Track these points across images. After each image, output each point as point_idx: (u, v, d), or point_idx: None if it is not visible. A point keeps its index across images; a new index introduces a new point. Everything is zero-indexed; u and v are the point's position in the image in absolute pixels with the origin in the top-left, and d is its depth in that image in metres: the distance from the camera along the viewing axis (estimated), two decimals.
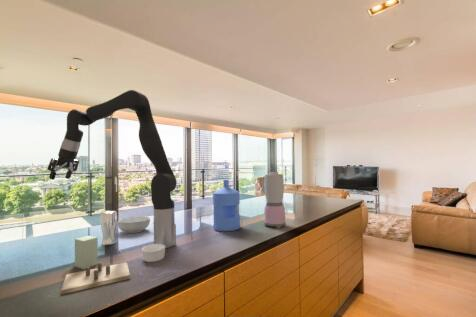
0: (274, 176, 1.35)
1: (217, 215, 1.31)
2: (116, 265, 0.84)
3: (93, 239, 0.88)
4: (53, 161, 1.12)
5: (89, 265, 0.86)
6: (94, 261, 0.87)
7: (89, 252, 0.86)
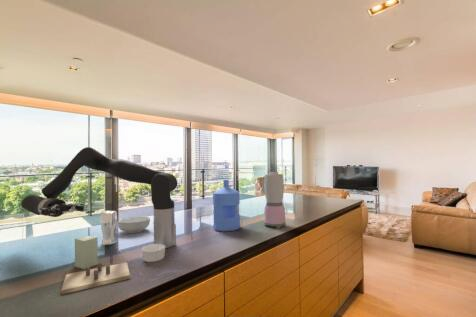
0: (274, 176, 1.35)
1: (217, 215, 1.31)
2: (116, 265, 0.84)
3: (93, 239, 0.88)
4: (39, 209, 0.93)
5: (89, 265, 0.86)
6: (94, 261, 0.87)
7: (89, 252, 0.86)
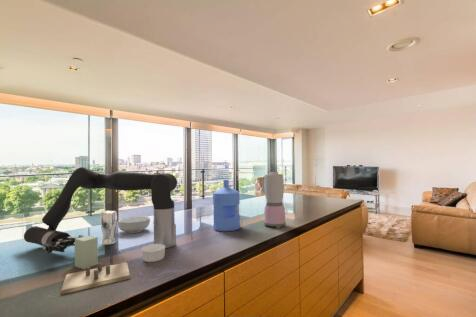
0: (274, 176, 1.35)
1: (217, 215, 1.31)
2: (116, 265, 0.84)
3: (93, 239, 0.88)
4: (43, 246, 0.91)
5: (89, 265, 0.86)
6: (94, 261, 0.87)
7: (89, 252, 0.86)
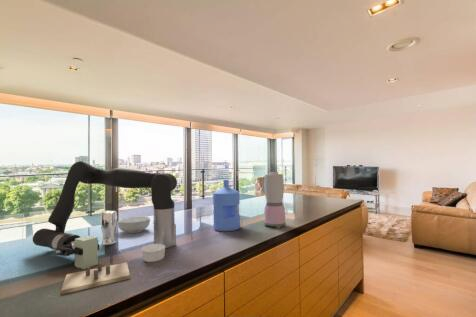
0: (274, 176, 1.35)
1: (217, 215, 1.31)
2: (116, 265, 0.84)
3: (93, 239, 0.88)
4: (57, 250, 0.86)
5: (89, 265, 0.86)
6: (94, 261, 0.87)
7: (89, 252, 0.86)
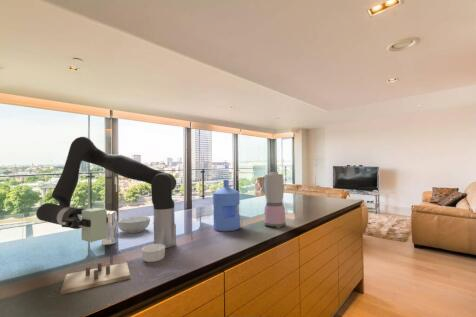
0: (274, 176, 1.35)
1: (217, 215, 1.31)
2: (116, 265, 0.84)
3: (101, 210, 0.80)
4: (63, 221, 0.78)
5: (97, 238, 0.78)
6: (102, 234, 0.80)
7: (97, 224, 0.79)
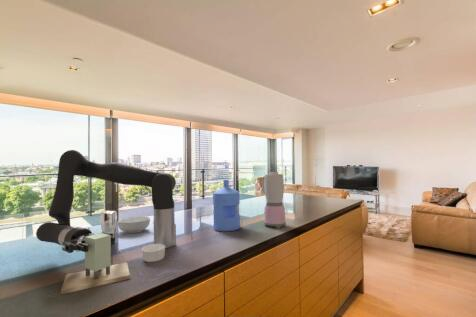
0: (274, 176, 1.35)
1: (217, 215, 1.31)
2: (116, 265, 0.84)
3: (106, 237, 0.77)
4: (63, 244, 0.75)
5: (101, 267, 0.75)
6: (106, 262, 0.77)
7: (101, 252, 0.75)
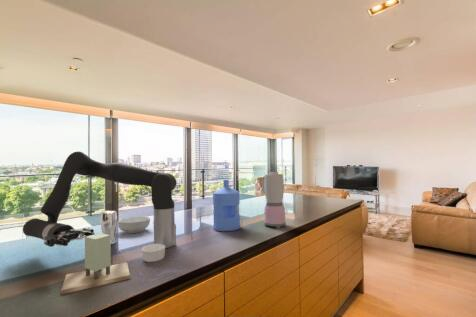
0: (274, 176, 1.35)
1: (217, 215, 1.31)
2: (116, 265, 0.84)
3: (106, 237, 0.77)
4: (44, 239, 0.81)
5: (101, 267, 0.75)
6: (106, 262, 0.77)
7: (101, 252, 0.75)
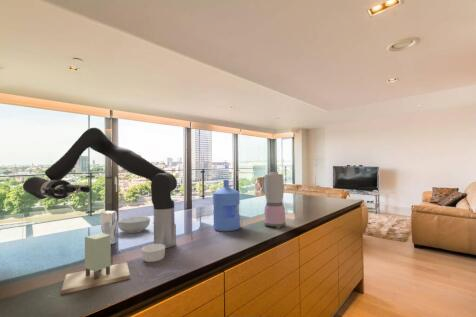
0: (274, 176, 1.35)
1: (217, 215, 1.31)
2: (116, 265, 0.84)
3: (106, 237, 0.77)
4: (43, 190, 0.86)
5: (101, 267, 0.75)
6: (106, 262, 0.77)
7: (101, 252, 0.75)
